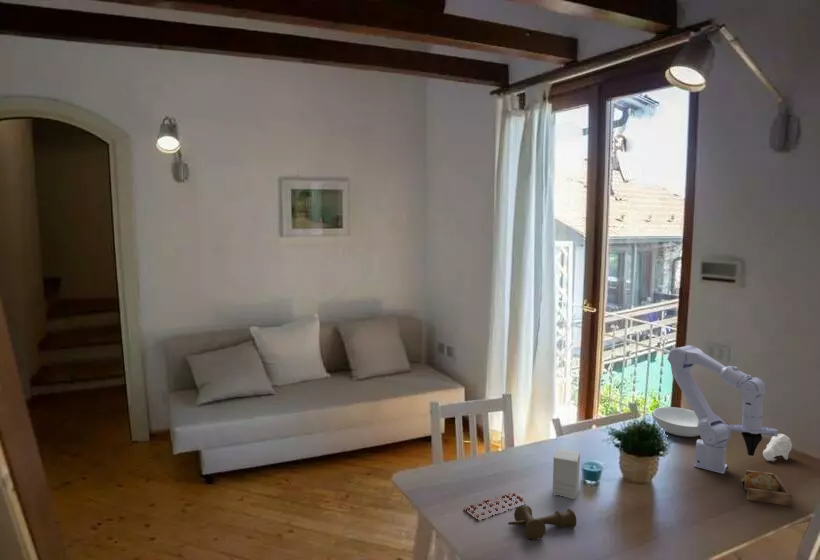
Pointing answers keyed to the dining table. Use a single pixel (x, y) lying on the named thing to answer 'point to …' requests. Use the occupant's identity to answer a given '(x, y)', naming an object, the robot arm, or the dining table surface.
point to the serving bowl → (677, 421)
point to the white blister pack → (494, 504)
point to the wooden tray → (770, 492)
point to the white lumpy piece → (778, 447)
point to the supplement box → (566, 473)
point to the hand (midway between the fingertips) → (750, 454)
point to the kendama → (541, 521)
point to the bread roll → (760, 482)
